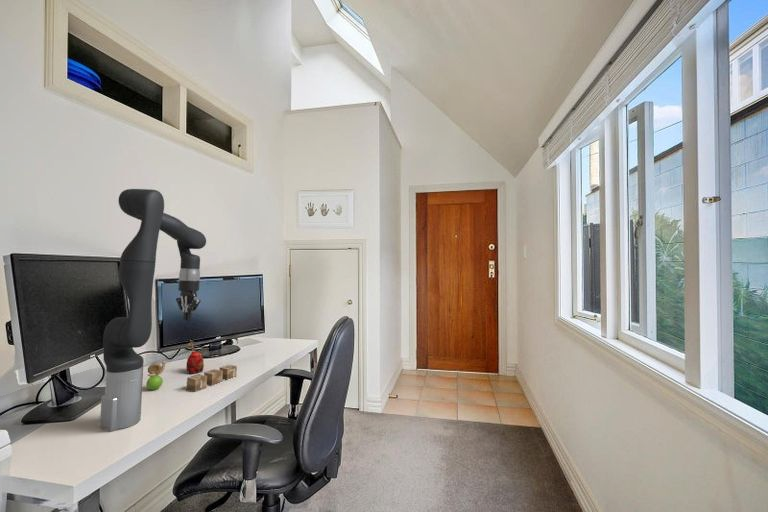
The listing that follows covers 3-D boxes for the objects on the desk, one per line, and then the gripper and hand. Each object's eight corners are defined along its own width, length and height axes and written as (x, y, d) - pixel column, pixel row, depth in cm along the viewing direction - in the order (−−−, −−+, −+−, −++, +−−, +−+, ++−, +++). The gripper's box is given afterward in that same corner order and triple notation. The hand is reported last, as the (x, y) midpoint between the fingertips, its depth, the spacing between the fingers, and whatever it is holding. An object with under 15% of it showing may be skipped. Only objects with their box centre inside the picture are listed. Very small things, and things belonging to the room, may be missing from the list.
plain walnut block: (211, 386, 135) (212, 374, 135) (203, 384, 137) (204, 372, 137) (222, 382, 140) (222, 370, 140) (214, 380, 142) (214, 369, 142)
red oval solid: (196, 374, 148) (198, 341, 149) (181, 374, 148) (183, 341, 149) (206, 369, 156) (208, 338, 156) (192, 369, 156) (193, 337, 156)
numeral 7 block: (227, 380, 142) (227, 368, 142) (219, 378, 144) (219, 367, 144) (236, 377, 146) (237, 365, 147) (228, 375, 149) (229, 364, 149)
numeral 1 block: (195, 392, 128) (195, 379, 128) (186, 390, 130) (187, 377, 130) (206, 388, 133) (207, 375, 133) (198, 386, 135) (198, 373, 135)
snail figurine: (166, 388, 131) (168, 358, 131) (147, 393, 126) (149, 362, 127) (163, 385, 135) (164, 356, 135) (144, 389, 130) (146, 359, 130)
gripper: (170, 279, 135) (167, 320, 134) (191, 280, 130) (188, 323, 129) (187, 279, 142) (185, 318, 141) (208, 280, 136) (205, 321, 136)
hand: (187, 321), depth 135 cm, fingers closed
